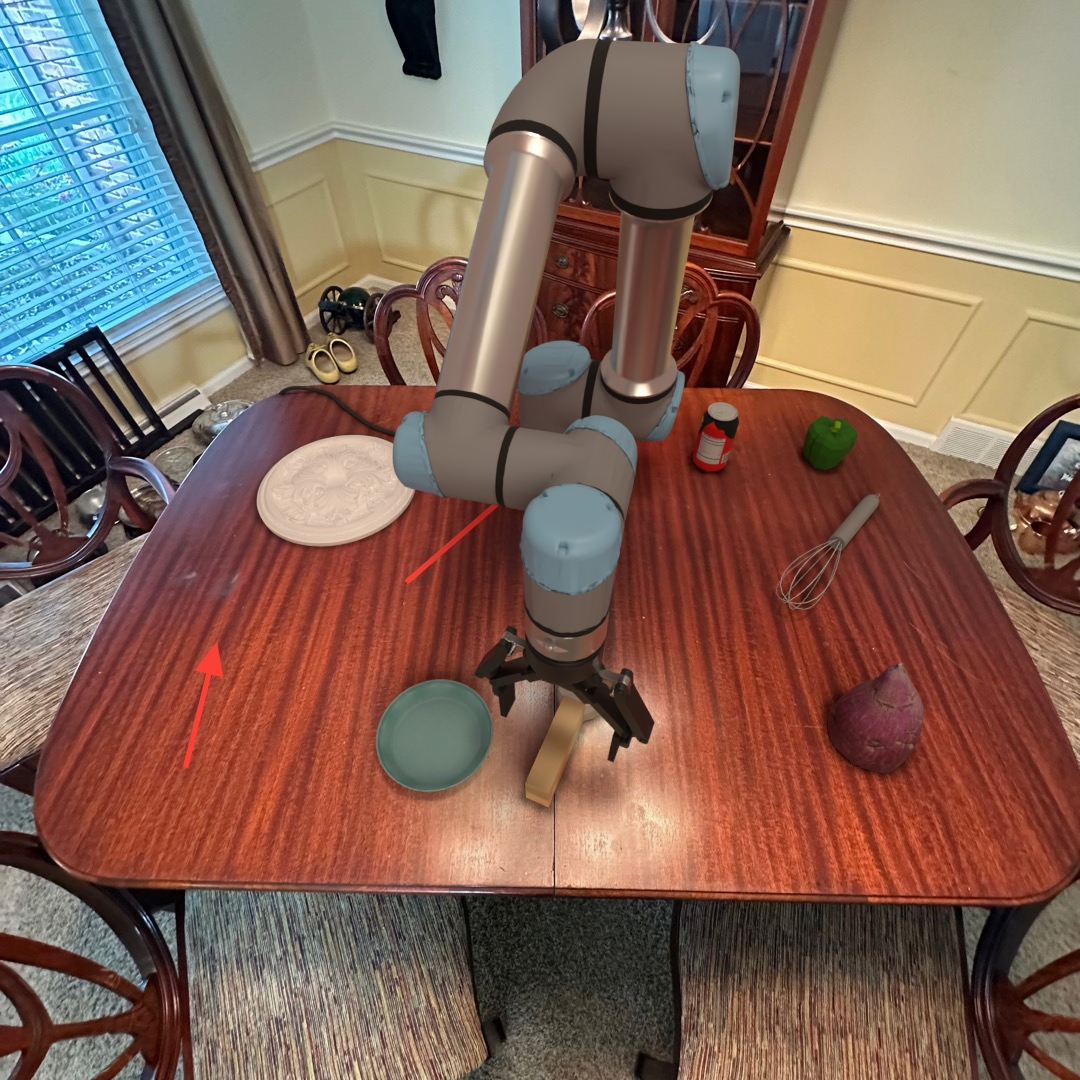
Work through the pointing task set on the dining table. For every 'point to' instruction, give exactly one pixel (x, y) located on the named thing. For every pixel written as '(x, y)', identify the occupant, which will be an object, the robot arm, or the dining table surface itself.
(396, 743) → the saucer
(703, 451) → the beverage can
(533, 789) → the scoop
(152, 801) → the dining table surface
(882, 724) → the vegetable
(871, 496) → the kitchen whisk
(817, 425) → the bell pepper
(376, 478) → the ceiling medallion
